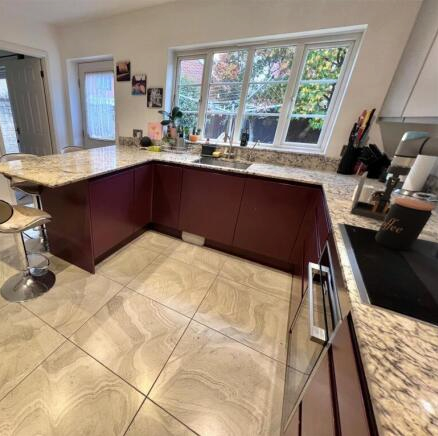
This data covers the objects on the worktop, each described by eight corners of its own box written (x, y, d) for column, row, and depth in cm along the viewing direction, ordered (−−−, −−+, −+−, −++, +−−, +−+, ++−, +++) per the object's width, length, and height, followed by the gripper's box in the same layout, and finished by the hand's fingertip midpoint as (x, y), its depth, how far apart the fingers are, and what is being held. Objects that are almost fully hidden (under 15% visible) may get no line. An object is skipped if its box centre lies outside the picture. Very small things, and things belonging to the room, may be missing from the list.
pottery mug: (394, 207, 136) (395, 196, 132) (373, 211, 140) (373, 200, 136) (383, 195, 145) (383, 185, 141) (364, 200, 149) (364, 189, 145)
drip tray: (391, 214, 124) (394, 208, 122) (389, 224, 111) (392, 218, 110) (355, 205, 134) (357, 200, 132) (349, 214, 121) (351, 208, 120)
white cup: (369, 204, 136) (377, 188, 132) (353, 202, 138) (360, 186, 134) (362, 200, 143) (370, 185, 139) (347, 198, 145) (354, 183, 141)
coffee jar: (368, 236, 99) (388, 196, 92) (398, 240, 97) (421, 200, 89) (383, 248, 90) (406, 205, 82) (417, 253, 87) (444, 210, 80)
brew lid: (367, 171, 126) (365, 171, 126) (363, 176, 113) (361, 176, 114) (358, 200, 132) (356, 199, 132) (353, 208, 119) (351, 207, 120)
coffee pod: (388, 215, 117) (393, 205, 115) (374, 213, 118) (379, 204, 116) (381, 211, 122) (385, 202, 120) (368, 209, 123) (372, 200, 121)
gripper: (390, 162, 119) (371, 204, 128) (388, 166, 107) (367, 213, 116) (411, 165, 114) (389, 208, 123) (411, 169, 102) (387, 217, 111)
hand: (378, 210), depth 120 cm, fingers closed on coffee pod, 6 cm apart
